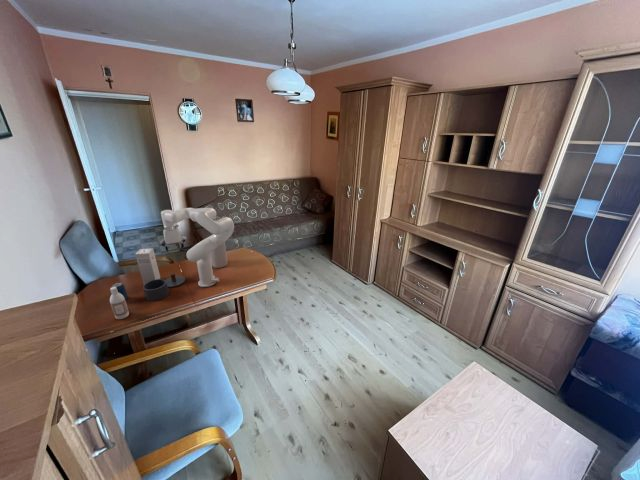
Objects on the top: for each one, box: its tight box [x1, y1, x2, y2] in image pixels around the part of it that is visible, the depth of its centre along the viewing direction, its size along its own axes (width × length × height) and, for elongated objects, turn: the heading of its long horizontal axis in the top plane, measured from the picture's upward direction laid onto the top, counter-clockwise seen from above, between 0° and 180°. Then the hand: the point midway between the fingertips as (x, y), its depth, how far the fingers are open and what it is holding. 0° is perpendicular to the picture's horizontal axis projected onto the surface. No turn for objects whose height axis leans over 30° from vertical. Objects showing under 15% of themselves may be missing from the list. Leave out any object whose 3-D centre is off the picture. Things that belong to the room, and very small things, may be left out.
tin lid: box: [165, 272, 186, 288], centre depth 194 cm, size 15×15×7 cm
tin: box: [142, 278, 170, 302], centre depth 178 cm, size 14×14×8 cm
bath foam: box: [109, 287, 130, 320], centre depth 156 cm, size 7×7×20 cm
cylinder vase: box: [208, 235, 229, 269], centre depth 216 cm, size 12×12×25 cm
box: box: [134, 247, 161, 285], centre depth 190 cm, size 8×8×25 cm
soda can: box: [110, 281, 129, 302], centre depth 172 cm, size 7×7×12 cm
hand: (175, 249), depth 191 cm, fingers open, 9 cm apart
